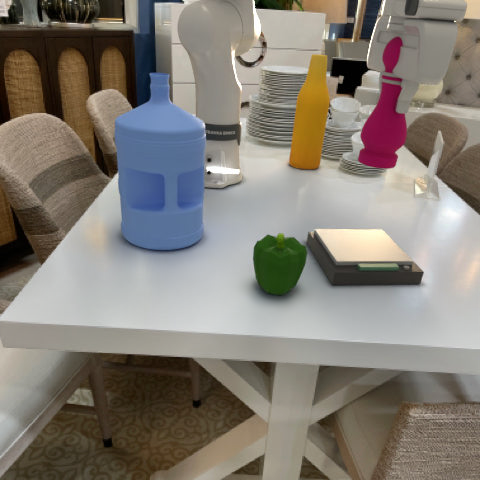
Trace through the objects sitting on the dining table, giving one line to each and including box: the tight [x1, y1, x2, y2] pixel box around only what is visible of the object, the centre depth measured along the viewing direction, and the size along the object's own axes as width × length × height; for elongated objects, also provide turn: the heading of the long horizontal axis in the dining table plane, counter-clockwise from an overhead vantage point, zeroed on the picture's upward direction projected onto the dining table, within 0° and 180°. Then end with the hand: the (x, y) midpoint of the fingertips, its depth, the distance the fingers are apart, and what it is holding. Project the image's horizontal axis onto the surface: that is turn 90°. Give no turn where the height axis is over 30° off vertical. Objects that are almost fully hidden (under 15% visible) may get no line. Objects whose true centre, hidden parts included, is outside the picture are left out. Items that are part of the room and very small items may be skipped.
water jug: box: [114, 72, 206, 251], centre depth 84 cm, size 16×16×28 cm
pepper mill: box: [357, 37, 408, 170], centre depth 73 cm, size 7×7×20 cm
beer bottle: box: [288, 53, 331, 171], centre depth 133 cm, size 9×9×29 cm
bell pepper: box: [252, 232, 308, 296], centre depth 75 cm, size 8×8×10 cm
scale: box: [306, 228, 425, 286], centre depth 87 cm, size 16×17×3 cm
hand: (391, 108), depth 74 cm, fingers closed on pepper mill, 5 cm apart
